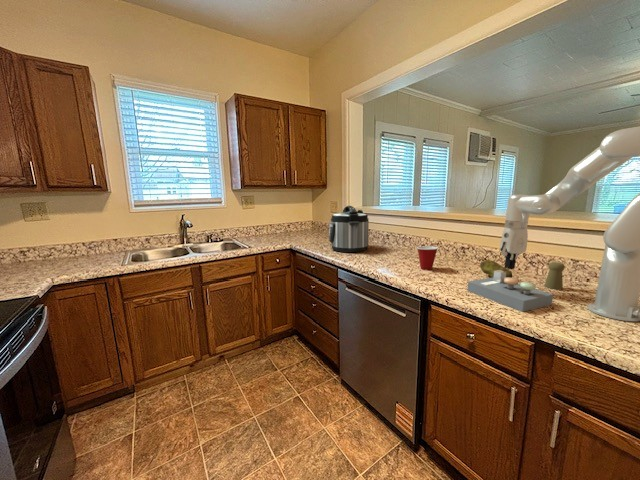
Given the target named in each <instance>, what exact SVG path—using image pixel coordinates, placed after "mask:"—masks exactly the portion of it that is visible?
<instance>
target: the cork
mask: <svg viewBox="0 0 640 480" xmlns="http://www.w3.org/2000/svg"><path fill="white" fill-rule="evenodd" d="M547 266H548V267H547V268H548V269H549V270H548V272H547V273H548V274H547V276H546V279H545V283H544V286H545V288H546V287H547V288H546V289H549V288H550V290H553V289H556V290H555V291H561V290H560V289H562V290H563V289H564V286H563V285H564V284H563V271H564V270H565V268H566V267H565V265H564V263H561V262H556V261H551V262H550V263H548V264H547Z"/></svg>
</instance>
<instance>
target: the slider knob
mask: <svg viewBox="0 0 640 480" xmlns="http://www.w3.org/2000/svg"><path fill="white" fill-rule="evenodd" d="M504 278H506V272H505V271H501V270H496V271H494V277H493V280H495V281H498V282H504Z"/></svg>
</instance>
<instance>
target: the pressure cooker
mask: <svg viewBox="0 0 640 480" xmlns="http://www.w3.org/2000/svg"><path fill="white" fill-rule="evenodd" d="M368 215H369V214H366V213H364V211H363V210H362V209H358V210H357V209H356V208H355V207H354V206H352V205H347V206H345V207H344V208H343V209H342V212H340V213H333V214H331V218H330V222H329V229H328V231H329V232H328V241H329V243H330V247H331V248H332V250H334V251H336V252H340V253H353V252H354V253H355V252H364V251H365V250H367V249H368V248H369V228H370V227H369V225H370V224H369V223H370V222H369V219H370V218H368V217H369V216H368Z"/></svg>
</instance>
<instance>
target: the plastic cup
mask: <svg viewBox="0 0 640 480" xmlns="http://www.w3.org/2000/svg"><path fill="white" fill-rule="evenodd" d="M416 249H417V253H418V260H419V267H420V269H421V270H424V271H431V270H432V269H433V266H434V262H435V259H436V254H437V251H438V249H439V247H437V246H427V245H426V246H425V245H424V246H423V245H422V246H421V245H420V246H417V247H416Z"/></svg>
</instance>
